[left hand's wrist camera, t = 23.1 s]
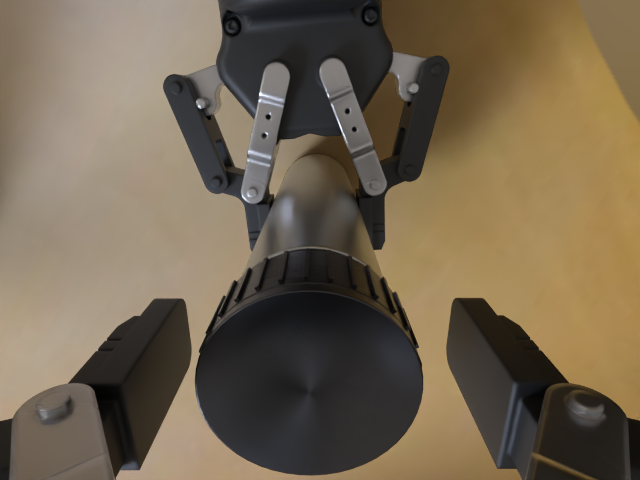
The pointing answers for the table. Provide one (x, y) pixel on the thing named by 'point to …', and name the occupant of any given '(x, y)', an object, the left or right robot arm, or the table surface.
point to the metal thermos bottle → (315, 215)
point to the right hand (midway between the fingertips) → (319, 256)
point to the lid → (309, 365)
